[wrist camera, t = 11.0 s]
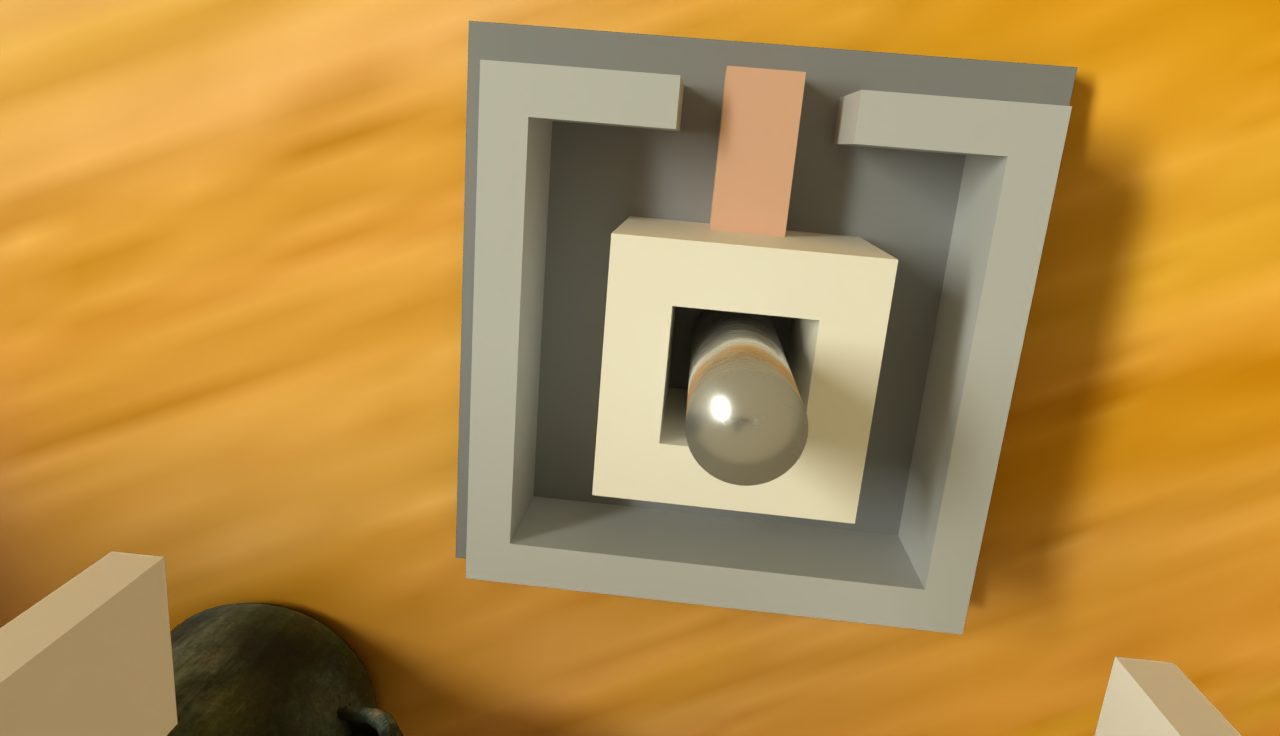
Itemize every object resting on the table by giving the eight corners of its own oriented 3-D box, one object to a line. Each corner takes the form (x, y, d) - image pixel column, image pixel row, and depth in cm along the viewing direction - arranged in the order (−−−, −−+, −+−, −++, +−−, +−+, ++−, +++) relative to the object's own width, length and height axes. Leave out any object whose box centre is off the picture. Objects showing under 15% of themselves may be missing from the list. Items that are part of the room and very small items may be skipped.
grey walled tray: (464, 543, 34) (422, 611, 29) (478, 25, 29) (431, 0, 24) (955, 598, 33) (999, 678, 28) (1061, 70, 28) (1139, 53, 23)
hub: (827, 453, 31) (854, 523, 25) (613, 430, 31) (592, 495, 25) (882, 85, 27) (930, 68, 22) (642, 65, 28) (624, 44, 22)
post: (688, 373, 30) (679, 479, 21) (696, 293, 30) (691, 364, 20) (770, 382, 30) (799, 491, 21) (780, 301, 30) (816, 376, 20)
